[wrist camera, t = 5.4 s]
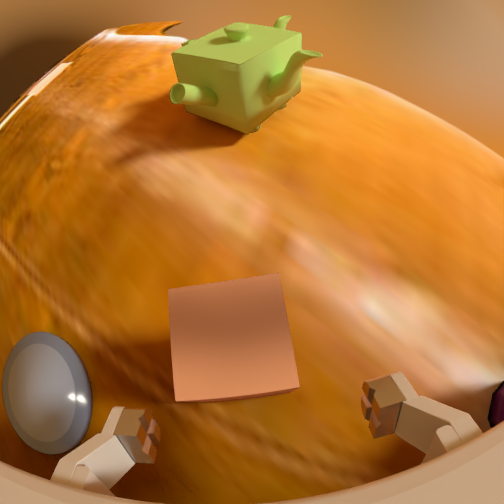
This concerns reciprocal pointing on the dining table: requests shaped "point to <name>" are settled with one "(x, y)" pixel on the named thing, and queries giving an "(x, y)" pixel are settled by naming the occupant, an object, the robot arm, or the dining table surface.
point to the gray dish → (47, 393)
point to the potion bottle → (497, 407)
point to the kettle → (240, 73)
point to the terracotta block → (231, 341)
